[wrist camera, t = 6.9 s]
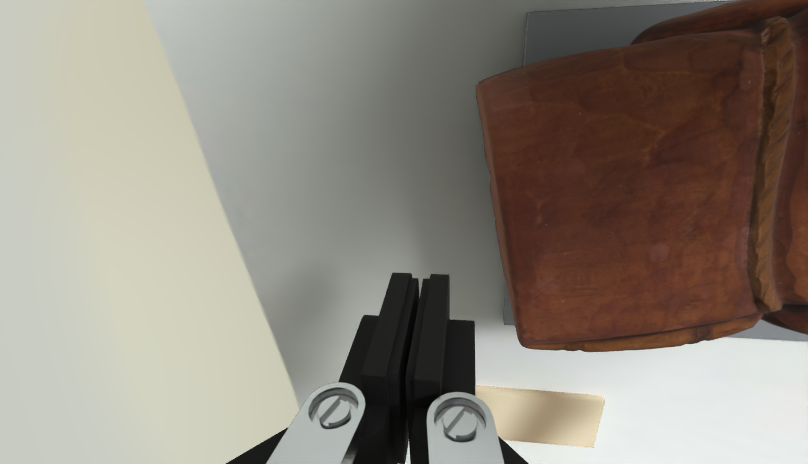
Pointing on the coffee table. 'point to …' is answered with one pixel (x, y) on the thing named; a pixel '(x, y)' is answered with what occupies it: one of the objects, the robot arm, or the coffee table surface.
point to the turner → (543, 415)
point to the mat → (608, 30)
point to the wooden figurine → (656, 183)
